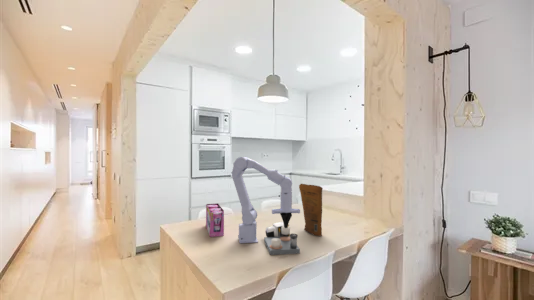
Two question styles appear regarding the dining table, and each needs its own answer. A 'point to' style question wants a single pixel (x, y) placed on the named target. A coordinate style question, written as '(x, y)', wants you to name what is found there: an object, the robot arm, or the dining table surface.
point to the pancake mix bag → (312, 208)
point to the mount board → (284, 246)
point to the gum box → (214, 220)
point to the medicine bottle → (275, 230)
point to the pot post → (293, 241)
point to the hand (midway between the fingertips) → (285, 227)
